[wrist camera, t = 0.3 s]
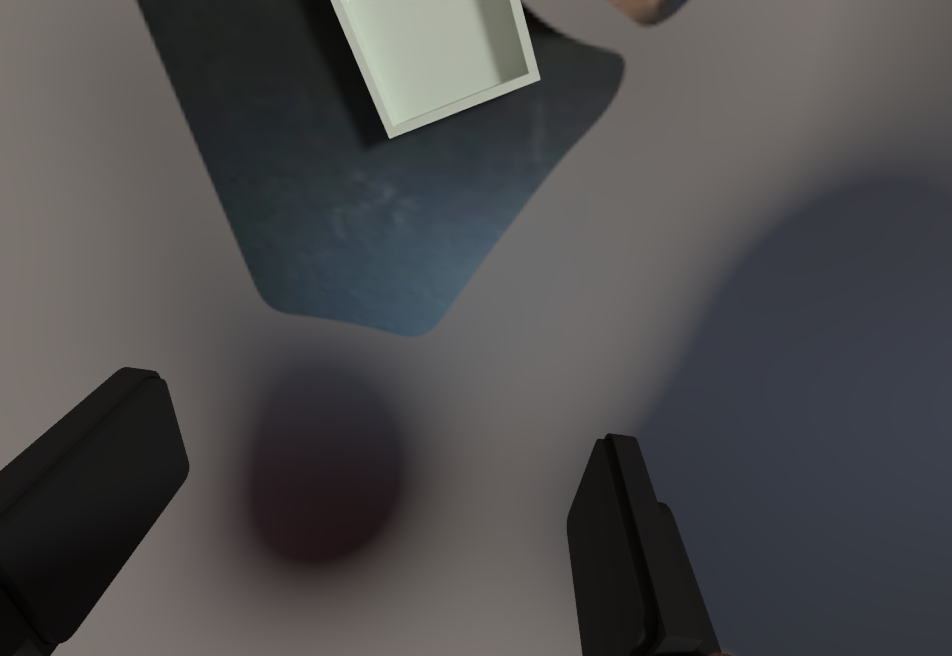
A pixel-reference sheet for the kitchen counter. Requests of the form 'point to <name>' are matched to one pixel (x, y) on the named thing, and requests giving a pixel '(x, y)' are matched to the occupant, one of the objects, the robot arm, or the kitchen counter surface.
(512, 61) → the tray
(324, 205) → the kitchen counter surface
